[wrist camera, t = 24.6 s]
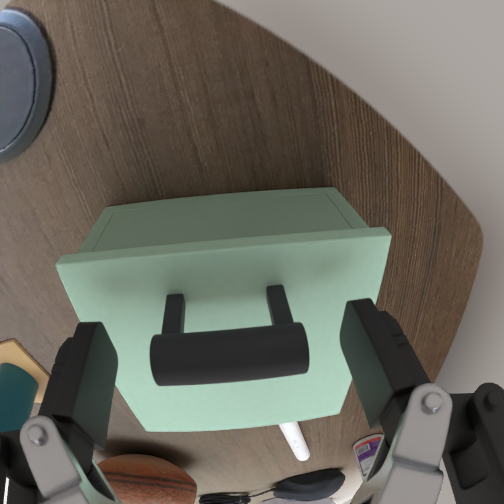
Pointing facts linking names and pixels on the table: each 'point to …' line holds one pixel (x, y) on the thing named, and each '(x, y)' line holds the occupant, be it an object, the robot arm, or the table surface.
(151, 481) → the bowl
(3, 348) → the coaster
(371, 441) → the pill bottle
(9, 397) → the can
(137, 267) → the cool box lid
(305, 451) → the marker
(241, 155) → the table surface
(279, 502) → the game console
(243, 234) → the cool box
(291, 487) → the computer mouse
